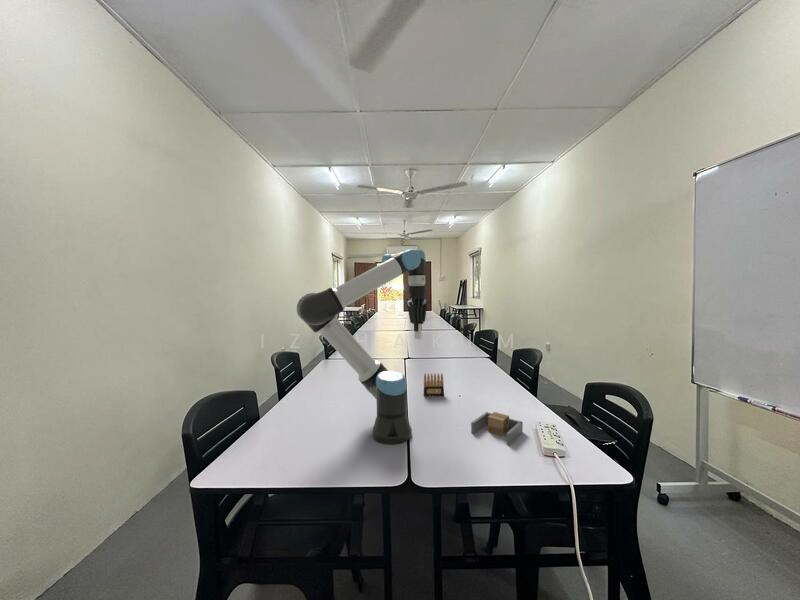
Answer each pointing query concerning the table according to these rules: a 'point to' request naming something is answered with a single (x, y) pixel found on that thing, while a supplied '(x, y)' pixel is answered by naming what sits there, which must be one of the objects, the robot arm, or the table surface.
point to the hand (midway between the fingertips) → (418, 338)
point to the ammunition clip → (432, 390)
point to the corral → (514, 432)
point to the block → (498, 423)
